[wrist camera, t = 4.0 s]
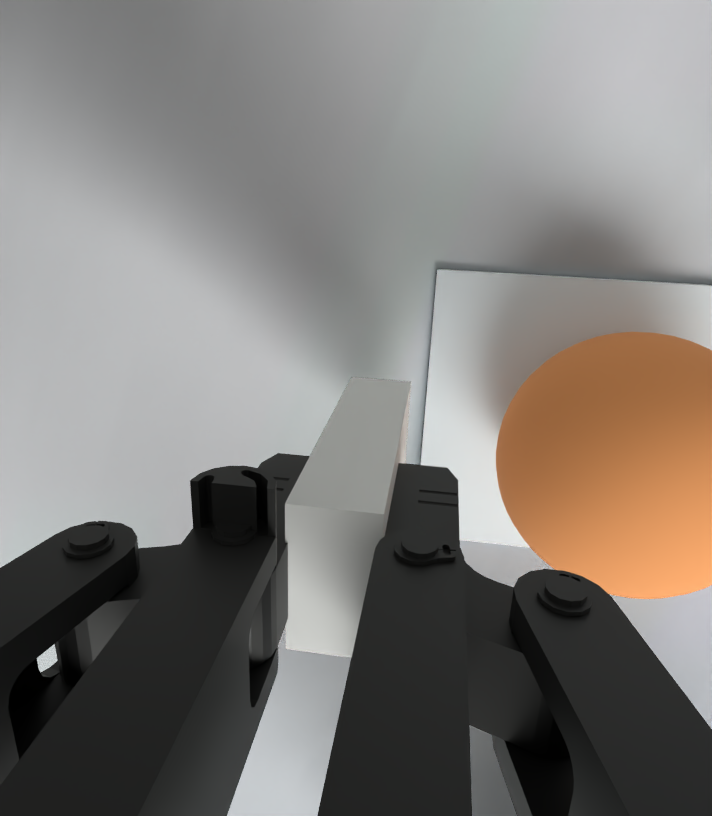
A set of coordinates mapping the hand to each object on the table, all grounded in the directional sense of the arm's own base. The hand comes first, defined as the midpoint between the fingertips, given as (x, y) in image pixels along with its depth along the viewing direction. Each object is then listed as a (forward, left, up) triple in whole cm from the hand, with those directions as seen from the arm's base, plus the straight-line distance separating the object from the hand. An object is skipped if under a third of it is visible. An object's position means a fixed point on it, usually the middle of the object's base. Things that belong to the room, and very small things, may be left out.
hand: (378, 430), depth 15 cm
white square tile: (+6, 0, -2) cm, 6 cm away
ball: (+6, 0, +1) cm, 6 cm away
